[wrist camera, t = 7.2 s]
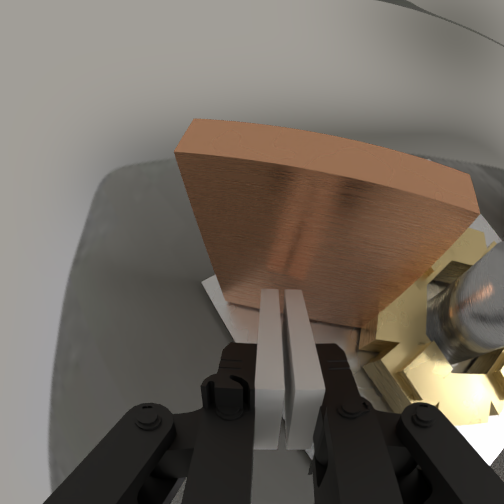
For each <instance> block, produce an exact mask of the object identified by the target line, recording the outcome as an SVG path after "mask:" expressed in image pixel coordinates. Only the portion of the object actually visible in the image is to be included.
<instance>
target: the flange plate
mask: <svg viewBox="0 0 504 504" xmlns="http://www.w3.org/2000/svg"><path fill="white" fill-rule="evenodd" d="M427 160H429V161H431V160H430V159H427ZM468 228H471V229H475V230H478V231H481V232H484V235H485V241H486V246H487V247H488V246H489V245H490V244H491V243H492V242H493V241H495V242H496V243H497V244H496V245H495V246H494V247H493V248H492V249H491V250H490V251H489V252H487V253H486V254H485V255H484V256H483V257H482V258H481V259H480V260H478V261H477V262H476V263H475V264H474V265H473V266H472V267H470V268H469V269H468V270H467V271H466V272H464V273H463V274H462V275H461V276H460V277H458V278H457V279H456V280H455V281H453V282H452V283H446V282H441V281H436V280H432V281H431V282H429V283H428V284H427V316H426V335H427V337H428V338H429V340H430V341H431V342H432V341H435V343H436V344H437V346H438V347H439V349H440V350H441V352H442V353H443V355H444V356H445V358H446V359H447V361H448V362H449V364H450V365H451V367H452V368H453V369H452V370H451V373H456V374H466V373H467V371H468V370H469V369H470V368H471V366H472V365H473V364H474V363H475V361H476V360H477V359H478V357H479V356H481V355H484V354H486V353H489V352H492V351H495V350H497V349H500V348H502V347H504V241H502V240H501V239H500V238H499V236H498V235H497V234H496V232H495V231H494V230H493V228H492V227H491V226H490V225H489V223H488V222H487V221H486V220H485V218H484V217H483V216H482V215H481V214H480V215H479V216H478V217H477V218H476V219H475V221H474V222H473V223H472V224H471V225H470V226H469V227H468ZM201 283H202V285H203V286H204V288H205V290H206V292H207V294H208V295H209V297H210V299H211V301H212V302H213V304H214V306H215V308H216V310H217V311H218V313H219V315H220V317H221V318H222V320H223V322H224V324H225V325H226V327H227V329H228V330H229V332H230V334H231V336H232V337H233V339H234V341H235V342H236V343H255V344H258V330H259V316H260V309H258V308H254V307H249V306H245V305H240V304H236V303H231V302H227V301H225V299H224V296H223V293H222V291H221V288H220V285H219V283H218V280H217V277H216V274H215V275H213V276H212V277H210V278H208V279H206V280H204V281H202V282H201ZM280 319H281V334H282V322H283V314H282V313H280ZM309 321H310V325H311V329H312V333H313V338H314V342H315V344H320V343H336V344H337V345H338V346H339V347H340V348H342V349H343V350H344V352H345V354H346V357H347V362H348V363H349V365H350V369H351V371H352V374H353V376H354V379H355V382H356V385H357V388H358V390H359V393H360V396H361V397H364V398H365V399H367V400H368V401H369V402H370V403H371V404H372V406H373V407H374V409H375V410H378V411H382V412H389V413H394V412H393V410H392V409H391V407H390V406H389V404H388V403H387V401H386V400H385V398H384V397H383V396H382V394H381V393H380V391H379V390H378V388H377V387H376V385H375V384H374V383H373V381H372V380H371V378H370V377H369V375H368V374H367V373H366V371H365V370H364V368H363V367H362V366H364V365H365V364H366V363H368V362H369V361H370V360H371V359H373V358H374V357H375V356H376V355H377V354H379V353H380V352H373V351H366V350H359V342H360V334H361V328H358V327H352V326H346V325H340V324H335V323H329V322H324V321H318V320H313V319H309ZM282 417H283V419H284V420H285V404H284V401H283V409H282ZM455 427H456V428H457V429H458V431H459V432H460V433H461V434H462V435H463V436H464V437H465V438H466V440H467V441H468V442H469V443H470V444H471V445H472V446H473V447H474V449H475V450H476V451H477V452H478V453H479V454H480V455H481V457H482V458H483V459H484V460H485V461H486V462H487V463H488V465H489V466H490V464H491V463H492V462H493V461H494V459H495V458H496V457H497V456H498V454H499V453H500V452H501V451H502V449H503V448H504V409H503V410H502V412H501V413H500V414H499V415H495V416H489V418H488V423H483V424H473V425H461V426H455ZM304 450H305V451H306V453H307V454H308V455H309V457H310V458H311V460H312V459H313V456H314V444H313V443H312V446H311V449H304Z"/></svg>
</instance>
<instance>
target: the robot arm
mask: <svg viewBox="0 0 504 504" xmlns="http://www.w3.org/2000/svg"><path fill="white" fill-rule="evenodd" d="M201 393H202V401H203V407H202V408H201V409H199V410H196V411H194V412H189V413H181V414H172V413H171V412H170V411H169V409H168V408H166V407H164V406H162V405H160V404H155V403H143V404H140V405H137V406H134V407H133V408H132V409H130V410H129V411H128V412H127V413H126V414H125V415H124V416H123V417H122V418H121V419H120V421H119V422H118V423H117V424H116V425H115V426H114V427H113V428H112V429H111V430H110V432H109V433H108V434H107V435H106V436H105V437H104V438H103V439H102V440H101V441H100V442H99V444H98V445H97V446H96V447H95V448H94V449H93V450H92V451H91V452H90V453H89V454H88V456H87V457H86V458H85V459H84V460H83V461H82V462H81V463H80V464H79V465H78V466H77V467H76V469H75V470H74V471H73V472H72V473H71V474H70V475H69V476H68V477H67V478H66V479H65V480H64V481H63V483H62V484H61V485H60V486H59V487H58V488H57V489H56V490H55V491H54V492H53V493H52V494H51V495H50V496H49V497H48V499H47V500H46V501H45V502H44V503H43V504H170V503H171V501H172V500H173V498H174V496H175V495H176V493H177V491H178V490H179V488H180V486H181V485H182V483H183V481H184V480H185V478H186V477H187V481H186V485H185V490H184V494H183V499H182V503H181V504H251V493H252V472H253V451H254V449H262V450H277V448H278V441H279V434H280V426H281V418H282V409H283V401H284V404H285V426H286V450H304V449H311V446H312V443H313V444H314V456H313V459H312V462H311V465H310V468H309V473H308V475H310V474H312V472H313V483H314V497H315V504H504V482H503V481H502V480H501V479H500V477H499V476H498V475H497V474H496V473H495V472H494V470H493V469H492V468H491V467H490V466H489V465H488V463H487V462H486V461H485V460H484V459H483V458H482V457H481V455H480V454H479V453H478V452H477V451H476V450H475V449H474V447H473V446H472V445H471V444H470V443H469V442H468V441H467V440H466V438H465V437H464V436H463V435H462V434H461V433H460V432H459V431H458V429H457V428H456V427H455V426H454V425H453V424H452V423H451V422H450V421H449V420H448V418H447V417H446V416H445V415H444V414H443V413H442V412H441V411H440V410H439V409H438V408H437V407H435V406H434V405H431V404H429V403H423V402H417V403H412V404H410V405H408V406H407V407H405V409H404V410H403V412H402V414H398V413H389V412H382V411H378V410H375V409H374V407H373V406H372V404H371V403H370V402H369V401H368V400H367V399H365V398H364V397H361V396H360V393H359V390H358V388H357V385H356V382H355V379H354V376H353V374H352V371H351V369H350V365H349V363H348V362H347V357H346V354H345V352H344V350H343V349H342V348H340V347H339V346H338V345H337V344H336V343H320V344H315V342H314V338H313V333H312V329H311V325H310V321H309V317H308V313H307V309H306V305H305V301H304V297H303V294H302V290H297V289H285V290H284V306H283V322H282V334H281V319H280V305H279V291H278V289H261V301H260V316H259V330H258V344H255V343H233V342H231V343H229V344H228V345H227V346H226V347H225V348H224V349H223V352H222V356H221V361H220V364H219V369H218V372H217V374H213V375H211V376H209V377H208V378H206V379H205V380H204V381H203V383H202V385H201Z"/></svg>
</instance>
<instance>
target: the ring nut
mask: <svg viewBox="0 0 504 504" xmlns="http://www.w3.org/2000/svg"><path fill="white" fill-rule="evenodd" d="M174 153H175V157H176V160H177V163H178V166H179V169H180V173H181V176H182V179H183V182H184V185H185V188H186V191H187V194H188V197H189V200H190V203H191V206H192V209H193V212H194V215H195V218H196V221H197V224H198V227H199V229H200V232H201V235H202V238H203V241H204V244H205V247H206V249H207V252H208V255H209V258H210V261H211V263H212V266H213V269H214V272H215V274H216V277H217V280H218V283H219V285H220V288H221V291H222V293H223V296H224V299H225V301H227V302H231V303H236V304H240V305H245V306H249V307H254V308H258V309H260V301H261V289H278V291H279V305H280V313H282V314H283V306H284V290H285V289H297V290H302V294H303V297H304V301H305V305H306V309H307V313H308V317H309V319H313V320H318V321H324V322H329V323H335V324H340V325H346V326H352V327H358V328H361V334H360V342H359V350H366V351H373V352H380V353H379V354H377V355H376V356H375V357H374V358H373V359H371V360H370V361H369V362H368V363H366V364H365V365H364V366H362V367H363V368H364V370H365V371H366V373H367V374H368V375H369V377H370V378H371V380H372V381H373V383H374V384H375V385H376V387H377V388H378V390H379V391H380V393H381V394H382V396H383V397H384V398H385V400H386V401H387V403H388V404H389V406H390V407H391V409H392V410H393V412H394V413H398V414H402V412H403V410H404V409H405V407H407V406H408V405H410V404H412V403H417V402H423V403H429V404H431V405H434V406H435V407H437V408H438V409H439V410H440V411H441V412H442V413H443V414H444V415H445V416H446V417H447V418H448V420H449V421H450V422H451V423H452V424H453V425H454V426H461V425H473V424H483V423H488V418H489V416H495V415H499V414H500V413H501V412H502V410H503V409H504V347H502V348H500V349H497V350H495V351H492V352H489V353H486V354H484V355H481V356H479V357H478V359H477V360H476V361H475V363H474V364H473V365H472V366H471V368H470V369H469V370H468V371H467V373H466V374H456V373H451V370H452V369H453V368H452V367H451V365H450V364H449V362H448V361H447V359H446V358H445V356H444V355H443V353H442V352H441V350H440V349H439V347H438V346H437V344H436V343H435V341H432V342H431V341H430V340H429V338H428V337H427V335H426V316H427V284H428V283H429V282H431V281H432V280H436V281H441V282H446V283H452V282H453V281H455V280H456V279H457V278H458V277H460V276H461V275H462V274H463V273H464V272H466V271H467V270H468V269H469V268H470V267H472V266H473V265H474V264H475V263H476V262H477V261H478V260H480V259H481V258H482V257H483V256H484V255H485V254H486V253H487V252H489V251H490V250H491V249H492V248H493V247H494V246H495V245H496V244H497V243H496V242H495V241H493V242H492V243H491V244H490V245H489V246H488V247H487V246H486V241H485V235H484V232H481V231H478V230H475V229H471V228H468V227H469V226H470V225H471V224H472V223H473V222H474V221H475V219H476V218H477V217H478V216H479V215H480V211H479V206H478V202H477V199H476V195H475V191H474V188H473V184H472V181H471V177H470V175H469V174H467V173H464V172H461V171H459V170H456V169H453V168H450V167H447V166H444V165H441V164H438V163H435V162H432V161H429V160H426V159H423V158H420V157H416V156H413V155H410V154H406V153H403V152H399V151H396V150H392V149H388V148H384V147H381V146H376V145H373V144H368V143H364V142H360V141H356V140H351V139H346V138H342V137H336V136H332V135H327V134H321V133H316V132H311V131H305V130H299V129H292V128H286V127H279V126H271V125H263V124H255V123H246V122H236V121H224V120H211V119H193V121H192V123H191V124H190V126H189V127H188V129H187V131H186V132H185V134H184V135H183V137H182V139H181V140H180V142H179V144H178V145H177V147H176V149H175V150H174Z"/></svg>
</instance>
